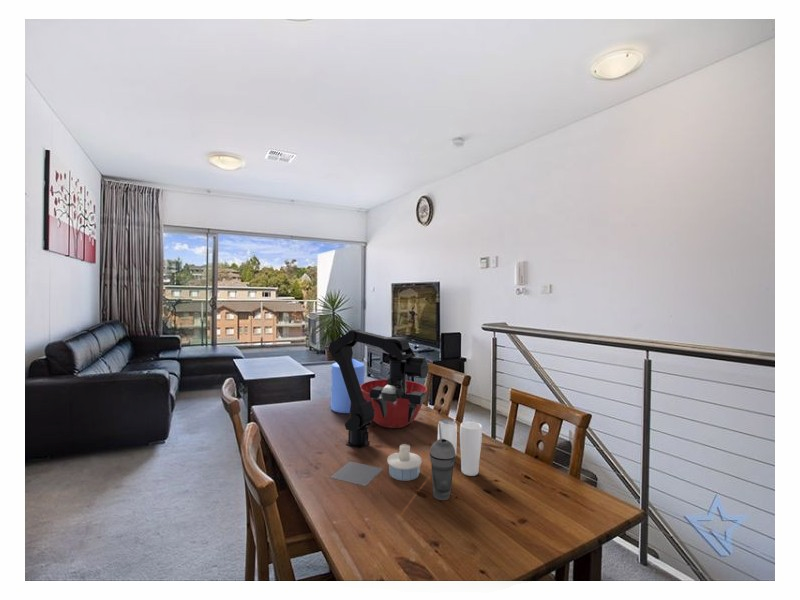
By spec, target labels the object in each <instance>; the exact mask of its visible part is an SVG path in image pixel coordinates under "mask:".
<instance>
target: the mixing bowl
mask: <svg viewBox="0 0 800 600" xmlns="http://www.w3.org/2000/svg"><path fill="white" fill-rule="evenodd" d="M387 380H388V378H387V379H376V380H375V379H374V380H370V381H366V382H364V383H363V384H362V385H361V386H360V388H361V391H362V394H363V397H364V399H365V400H366V401H367V402H369V401H371V402H372V406H373V409H374V410H375V412H374V418H373V420H372V421H373V422H374V423H376V424H377V425H379V426H380V427H382V428H386V429H399V428H404V427H406V426H408V425H409V424H411V423H413V421H414V420H415V419H416V418H417V416H418V414H419V412H420V410H421V408H422V406H423V403H422V404H419V405H418V406H417V407H416V409H415V412H414V414H413V416H412V419H411V421H410V422H408V413H409V406H408V404H409V403H410V402H409V399H402V398H397V400H396V401H395V402H391V401H387V411H386V418H383V415H382V412H381V409H380V407H379V404H378V403H377V402H376V401H375V400H373V398H370V390H371V389H373V388H375V387H377V386H378V387H385V386H386V385H387ZM406 388H407V392H406V393H408V394H411V393H413V392H414V391H417V392H424V393H425V395H426V393H427V391H428V387H427V386H426V385H424V384H421V383H420V382H416V381H411V380H406Z"/></svg>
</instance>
